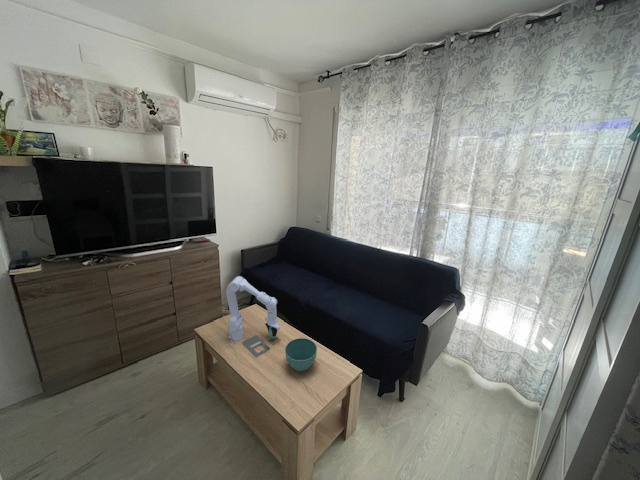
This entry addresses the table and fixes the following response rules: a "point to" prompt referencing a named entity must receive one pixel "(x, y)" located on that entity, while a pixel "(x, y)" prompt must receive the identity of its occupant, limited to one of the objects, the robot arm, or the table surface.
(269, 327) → the peg
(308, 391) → the table surface
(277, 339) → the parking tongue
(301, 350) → the teal bowl
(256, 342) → the plate
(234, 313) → the robot arm
